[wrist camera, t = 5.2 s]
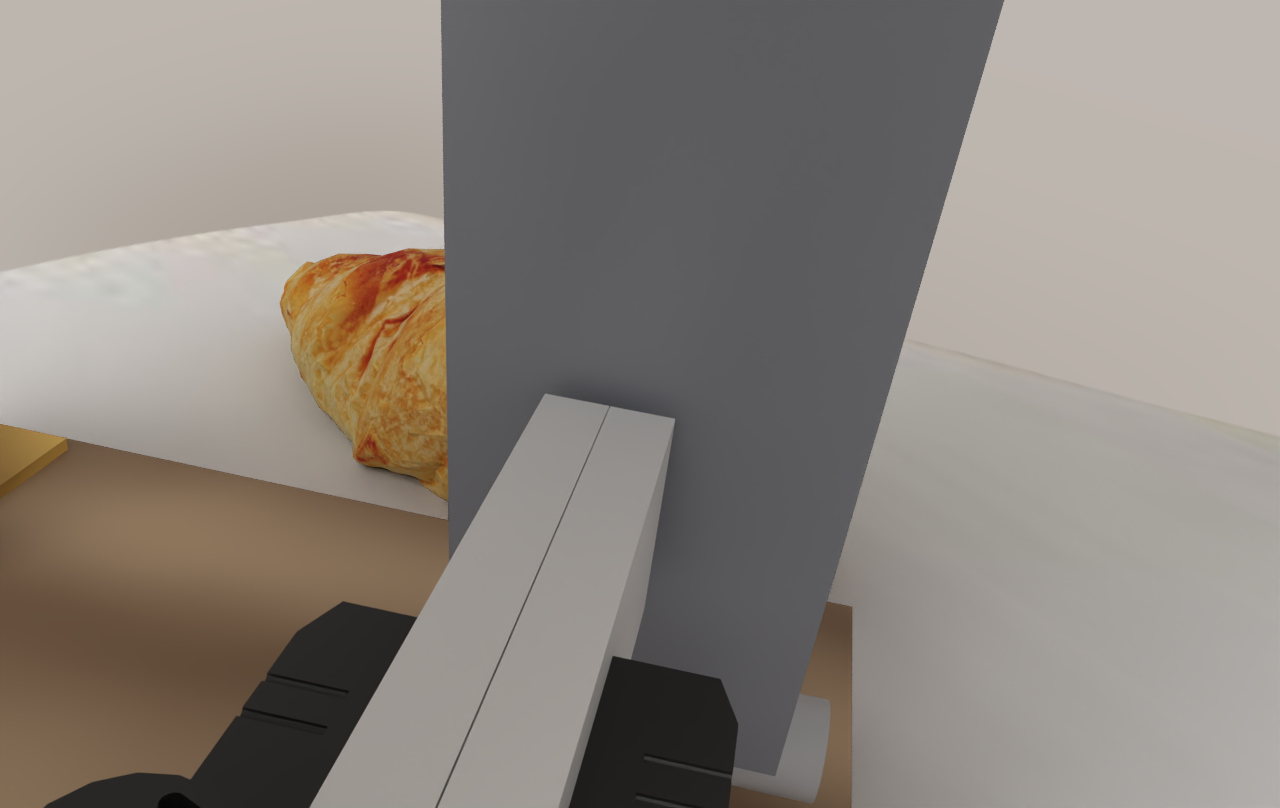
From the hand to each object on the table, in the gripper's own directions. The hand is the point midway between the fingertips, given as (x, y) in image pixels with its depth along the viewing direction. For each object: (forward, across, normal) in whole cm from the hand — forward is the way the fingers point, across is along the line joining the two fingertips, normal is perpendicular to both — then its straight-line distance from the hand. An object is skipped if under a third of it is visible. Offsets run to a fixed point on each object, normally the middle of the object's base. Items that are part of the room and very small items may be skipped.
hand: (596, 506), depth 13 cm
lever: (+2, 0, -5) cm, 6 cm away
